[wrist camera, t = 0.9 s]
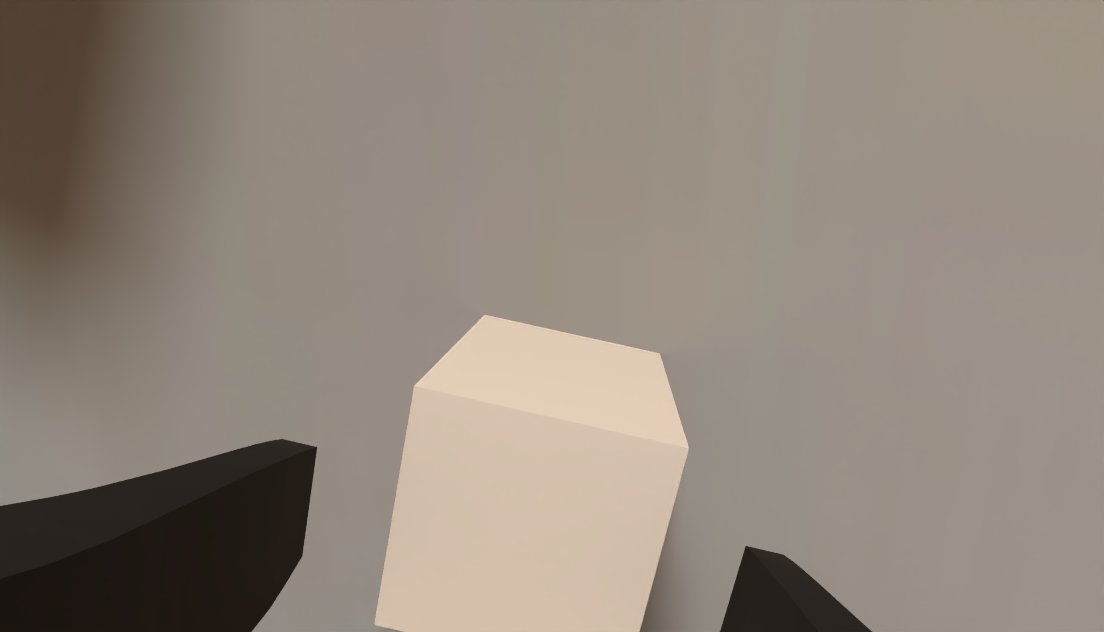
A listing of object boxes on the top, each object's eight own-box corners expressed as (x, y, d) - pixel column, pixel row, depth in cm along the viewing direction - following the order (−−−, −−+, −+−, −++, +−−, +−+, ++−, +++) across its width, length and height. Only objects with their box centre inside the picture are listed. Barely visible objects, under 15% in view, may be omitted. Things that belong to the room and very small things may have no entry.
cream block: (659, 353, 16) (688, 448, 10) (619, 513, 17) (624, 685, 11) (484, 314, 16) (414, 385, 10) (455, 475, 17) (374, 624, 11)
